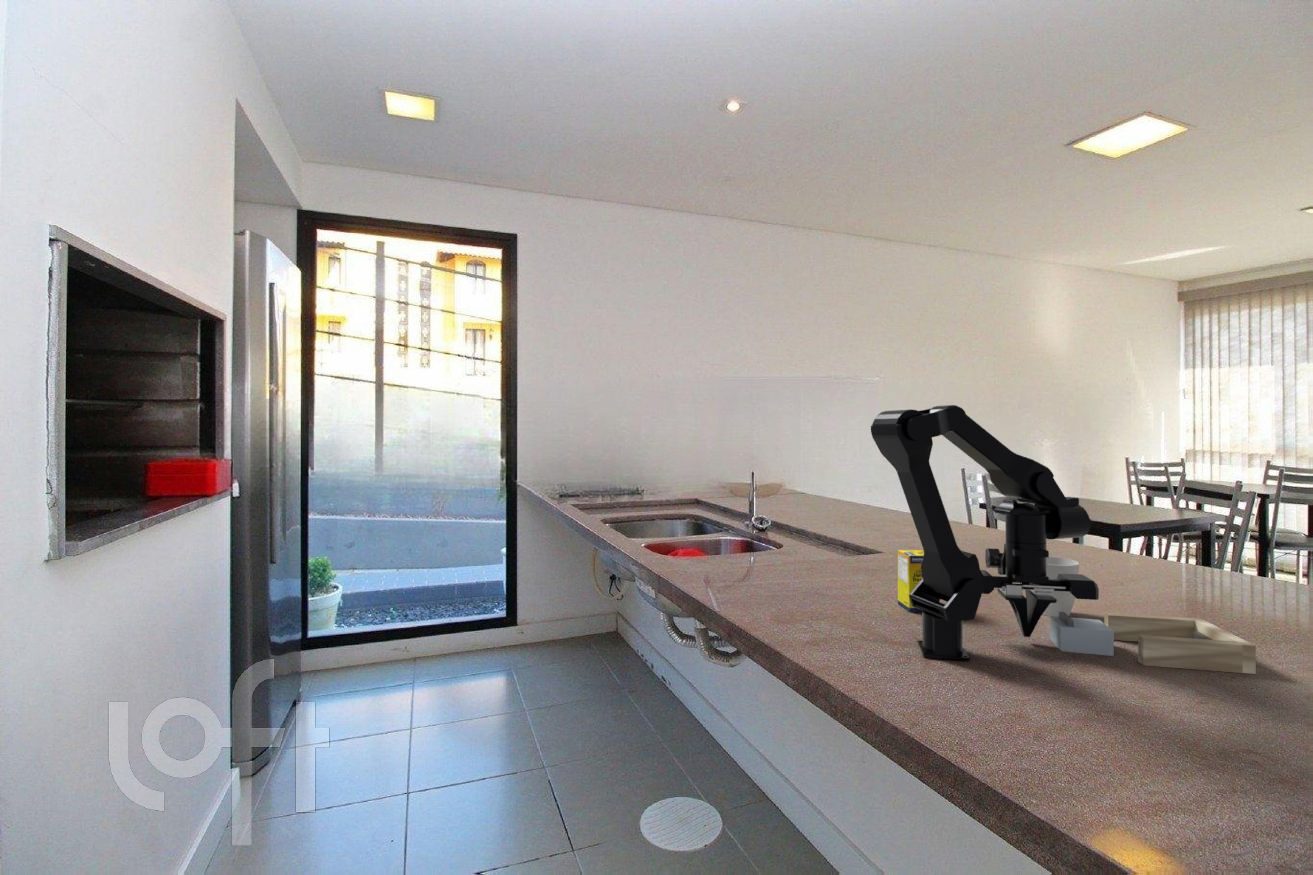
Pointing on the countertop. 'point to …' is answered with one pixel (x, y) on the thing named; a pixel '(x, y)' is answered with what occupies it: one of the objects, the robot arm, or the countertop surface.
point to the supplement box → (908, 576)
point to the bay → (1183, 643)
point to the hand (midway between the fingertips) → (1026, 636)
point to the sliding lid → (1081, 635)
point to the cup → (1063, 597)
